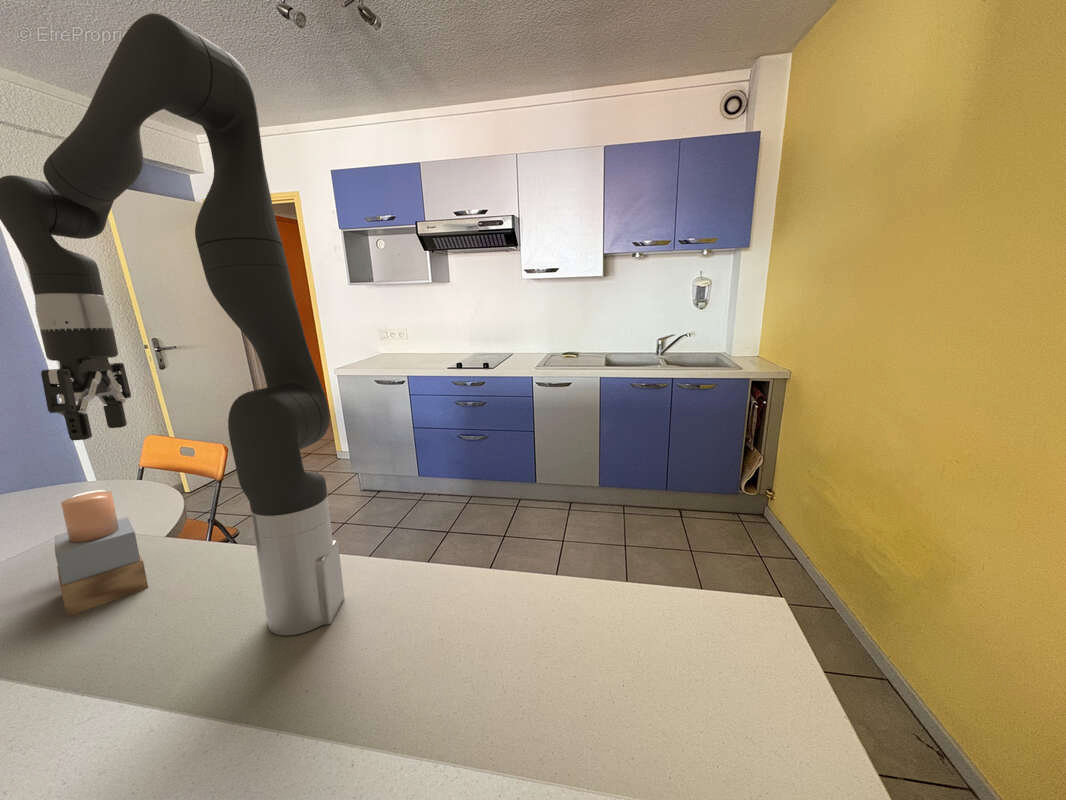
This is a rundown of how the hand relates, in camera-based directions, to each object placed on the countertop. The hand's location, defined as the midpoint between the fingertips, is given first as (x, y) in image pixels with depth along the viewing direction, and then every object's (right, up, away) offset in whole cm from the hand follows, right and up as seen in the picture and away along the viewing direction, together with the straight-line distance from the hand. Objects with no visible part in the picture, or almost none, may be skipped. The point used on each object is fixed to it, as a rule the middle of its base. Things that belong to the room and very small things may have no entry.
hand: (100, 433), depth 66 cm
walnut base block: (-2, -26, +3) cm, 26 cm away
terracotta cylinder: (-2, -16, +1) cm, 16 cm away
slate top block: (-2, -21, +2) cm, 21 cm away
